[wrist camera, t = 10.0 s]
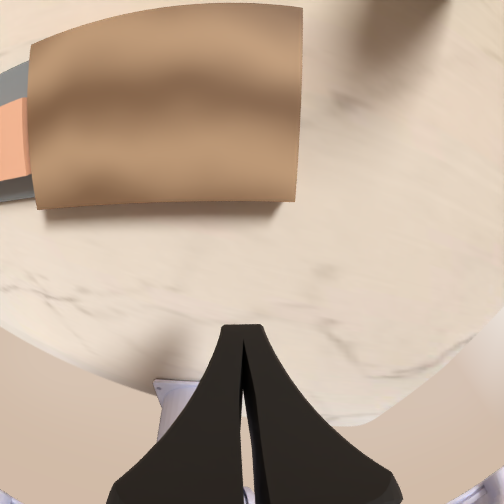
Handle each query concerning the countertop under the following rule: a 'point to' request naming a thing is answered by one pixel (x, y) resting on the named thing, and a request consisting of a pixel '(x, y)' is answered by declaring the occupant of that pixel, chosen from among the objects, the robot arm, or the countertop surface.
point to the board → (168, 107)
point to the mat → (4, 91)
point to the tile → (14, 140)
